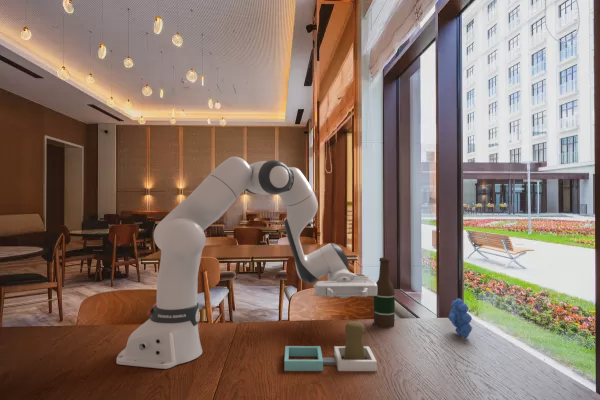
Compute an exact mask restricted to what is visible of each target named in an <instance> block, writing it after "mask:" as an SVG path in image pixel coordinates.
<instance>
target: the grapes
mask: <svg viewBox="0 0 600 400" xmlns="http://www.w3.org/2000/svg"><path fill="white" fill-rule="evenodd" d="M450 305H451V307H452V308H451V310H450V311H449V315H448V316H447V317H448V320H449V321H450V322H451V324H452V325H453V326H454V327H455V332H456V334H457V335H458V336H460V337H463V338H464V339H467V338H468V337H469V336H470V333H471V332H472V330H473V327H472V325H471V324H470V323H471V322H472V319H473V318H472V316H471V315H470V314H469V313H468V312H469V309H470V308H469V306H468V305H467V304H466V303H465V302H464V300H462V299H461V298H460V297H459V298H458V297H457V298H456V300H455V299H453V301H452V302H451V304H450Z"/></svg>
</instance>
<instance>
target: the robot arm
mask: <svg viewBox="0 0 600 400" xmlns="http://www.w3.org/2000/svg"><path fill="white" fill-rule="evenodd" d="M245 191H246V192H248V193H250V194H253V195H257V194H258V195H262V196H267V195H269V196H270V195H278V196H279V197H280V199H281V200H282V202H283V205H284V206H285V209H286V218H285V219H284V223H283V224H284V230H285V232H286V237H287V240H288V243H289V246H290V250H291V252H292V256H293V258H294V263H295V271H296V273H297V277H298V278H299V279H300V280H301V282H303V283H306V284H311V285H312V284H313V289H314V290H315V291H314V292H315V293H314V294H315V297H330V298H339V299H347V298H351V297H362V298H367V297H374V296H376V295H377V292H378V288H377V284H376V281H374V280H373V279H371V278H369V276H368V275H366V274H359V273H355V272H354V273H353V272H350V271H349V265H350V262H349V260H348V256H346V254H345V252H344V250H343V249H342V248H341V247H340V246H339V244H336V243H333V242H330V243H328V244H326V245H324V246H321V247H319V248H318V249H316V250H314V251H312V252H310V253H308V254H304V252H305V251H304V250H303V246H302V243H301V240H300V237H301V233H302V232H303V230H304V229H305V227H307V226H308V224H309V223H310V222H312V220H313V219H314V218H315V216H316V214H317V212H318V209H319V203H318V199H317V196H316V194H315V192H314V190H313V188H312V186H311V184H310V183H309V181H308V180H307V178H306V176H305V175H304V174H303V172H302V171H301V170H300V168H298V167H294V166H291V167H290V166H289V167H288V166H287V165H286V164H285V163H284V162H283V161H279V160H274V159H272V160H271V159H270V160H259V161H256V162H251V163H248V162H247V161H246V160H245V159H243V158H242V157H239V156H229V158H226V159H225V160H224V161H223V162H221V163H220V164H219V165H218V166H216V168H214V169H213V170H212V171H211V172H210V173H209V174H208V176H206V177H205V178H204V180H202V182H201V183H200V184H199V185H198V186H197V187H195V189H194V190H193V191H192V192H191V193H190V195H188V196H187V197H186V198H185V199H184V200H182V201H181V202H180V203H179V204H178V205H177V206H175V207H174V208H173V209H172V210H171V211H170V212H169V213H167V214H166V215H165V217H163V219H161V221H159V222H158V224H157V225H156V226H155V228H154V230H153V240H154V243H155V245H156V247H158V249H160V250H161V251H160V252H161V253H160V261H159V266H158V268H159V269H158V273H157V276H156V302H155V303H154V304H153V305H152V306H151V307H150V308H149V310H147V316H149V318H148V319H147V320H146V321H144V322H143V323H142V324H141V325H140V326H138V327H137V328H136V329H135V330H134V331H132V332H131V334H130V335H129V336H128V339H127V343H126V347H125V348H124V349H122V350H121V351H120V352H119V353H118V355H117V356H116V364H117V365H121V366H123V365H124V366H131V367H132V366H133V367H140V368H141V367H142V368H152V369H164V370H167V369H170V368H173V367H175V366H177V365H180V364H181V365H182V364H184V363H188V362H191V361H193V360H195V359H197V358H199V357H200V356H201V355H202V354H203V349H202V348H203V347H202V345H201V339H200V333H199V320H200V304H199V302H198V285H199V284H198V283H199V281H198V280H199V279H198V277H199V269H200V266H201V265H200V264H201V262H202V261H201V260H202V254H203V249H204V248H205V245H206V241H207V238H206V234H205V231H206V229H208V228H209V227H210V226H211V225H212V224H213V223H215V222H216V221H218V220H219V219H220V218H222V217H223V215H224V214H225V213H226V212H227V211H228V209H229V208H230V207H231V206H232V205H233V204H234V202H235V201H237V199H238V198H239V196H240V195H241V194H242V193H243V192H245ZM326 275H327V280H320V279H321V278H323V277H325V276H326ZM318 280H319V281H318ZM314 283H315V284H314Z"/></svg>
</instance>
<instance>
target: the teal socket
mask: <svg viewBox="0 0 600 400" xmlns="http://www.w3.org/2000/svg"><path fill="white" fill-rule="evenodd" d="M284 348H285V349H284V360H283V361H284V362H283V363H284V366H283V367H284V368H283V369H284V372H324V365H323V358H322V357H323V353H322V348H321V346H320V345H313V346H311V345H309V346H308V345H307V346H306V345H285V347H284ZM290 357H316V358H317V359H290Z"/></svg>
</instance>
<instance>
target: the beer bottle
mask: <svg viewBox="0 0 600 400" xmlns="http://www.w3.org/2000/svg"><path fill="white" fill-rule="evenodd" d="M389 264H390V258H389V257H379V276H378V280H377V281H375V283H376V284H377V288H378V292H377V295H376V296H373V325H374V326H377V327H379V328H388V329H389V328H392V327H394V326H395V318H396V317H395V312H396V309H395V307H396V306H395V305H396V301H395V300H396V294H395V292H396V291H395V288H394V285H393V283H392V282H391V278H390V265H389Z"/></svg>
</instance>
